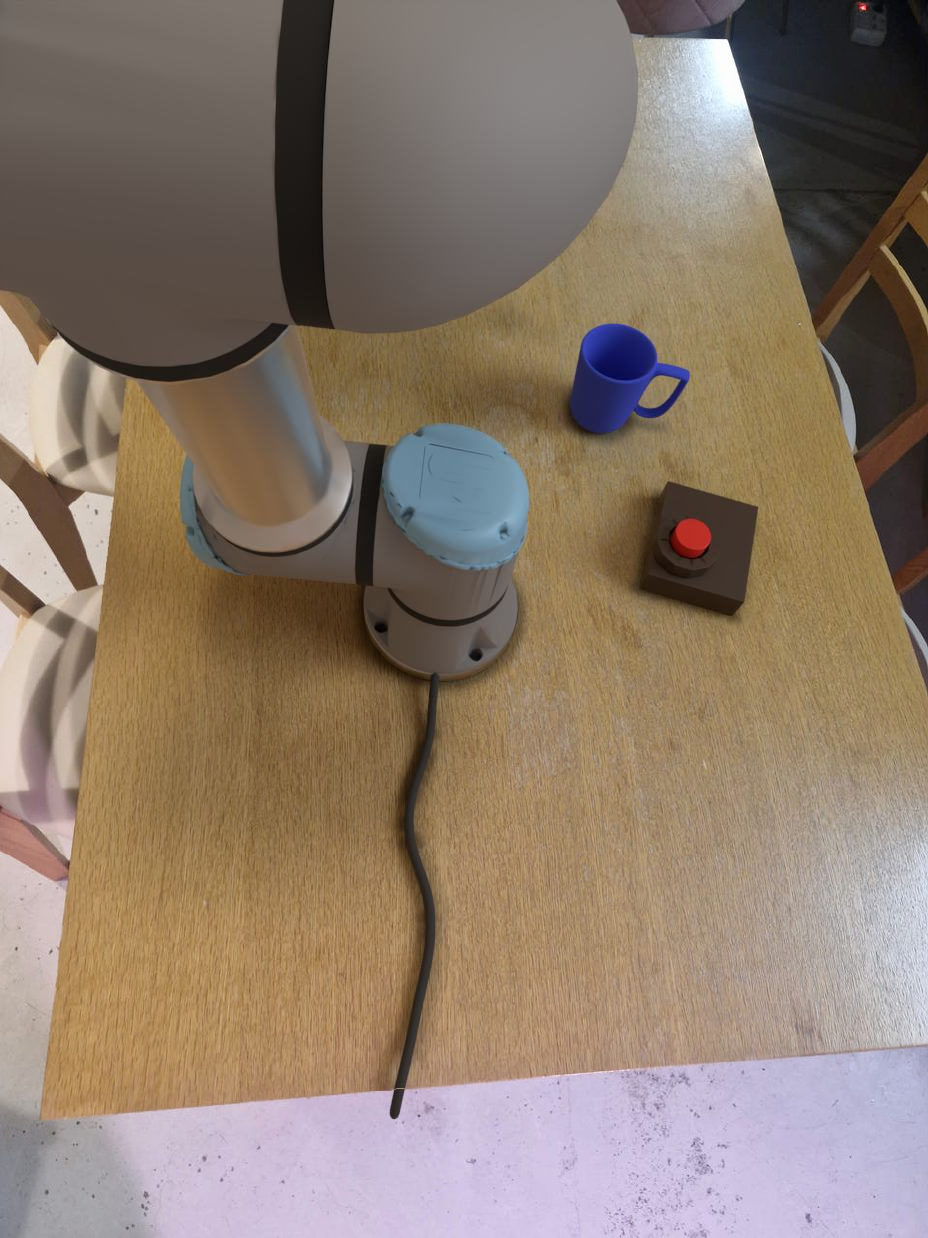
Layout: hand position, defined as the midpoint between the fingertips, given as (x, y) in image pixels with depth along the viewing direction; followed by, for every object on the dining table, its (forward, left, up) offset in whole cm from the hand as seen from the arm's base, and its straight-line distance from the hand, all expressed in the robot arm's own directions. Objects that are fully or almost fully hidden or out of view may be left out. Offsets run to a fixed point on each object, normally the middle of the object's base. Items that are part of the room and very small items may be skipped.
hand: (567, 212), depth 77 cm
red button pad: (-16, -23, -24) cm, 36 cm away
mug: (-1, -11, -24) cm, 26 cm away
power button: (-18, -21, -19) cm, 33 cm away
